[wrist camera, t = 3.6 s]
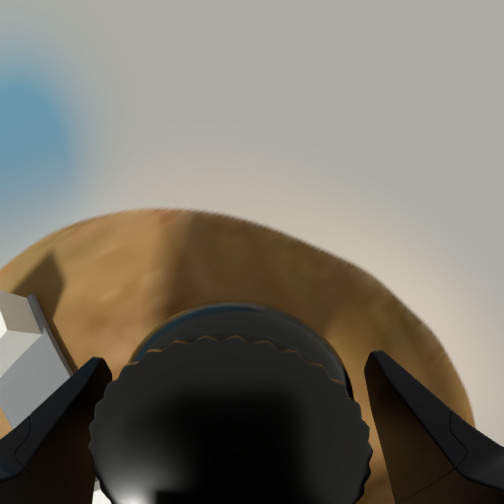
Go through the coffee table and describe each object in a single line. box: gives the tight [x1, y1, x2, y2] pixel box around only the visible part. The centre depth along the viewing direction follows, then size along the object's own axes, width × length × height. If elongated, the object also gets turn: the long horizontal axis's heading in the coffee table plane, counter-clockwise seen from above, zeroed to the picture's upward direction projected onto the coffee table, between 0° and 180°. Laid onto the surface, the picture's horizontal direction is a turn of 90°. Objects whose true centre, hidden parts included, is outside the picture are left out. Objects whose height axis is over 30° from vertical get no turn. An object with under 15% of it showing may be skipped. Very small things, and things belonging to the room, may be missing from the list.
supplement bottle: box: [88, 300, 373, 504], centre depth 9 cm, size 7×7×12 cm
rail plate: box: [0, 290, 111, 504], centre depth 11 cm, size 16×9×4 cm, turn 39°
